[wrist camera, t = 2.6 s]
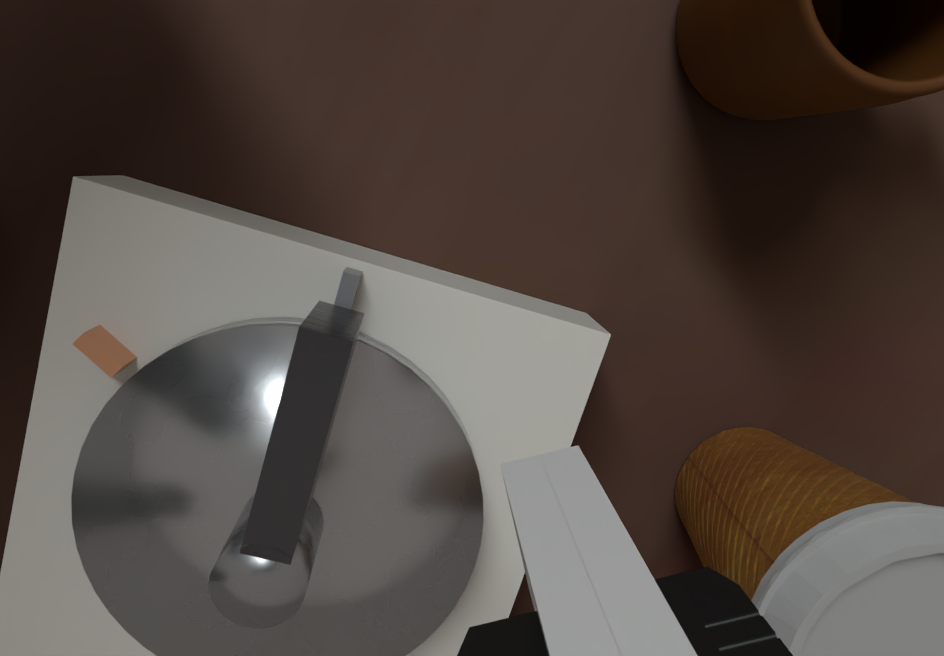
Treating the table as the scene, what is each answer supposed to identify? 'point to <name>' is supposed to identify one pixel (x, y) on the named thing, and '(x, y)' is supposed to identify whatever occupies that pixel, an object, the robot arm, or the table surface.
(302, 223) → the table surface
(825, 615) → the disposable coffee cup
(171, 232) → the dial housing
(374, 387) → the dial
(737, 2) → the mug
